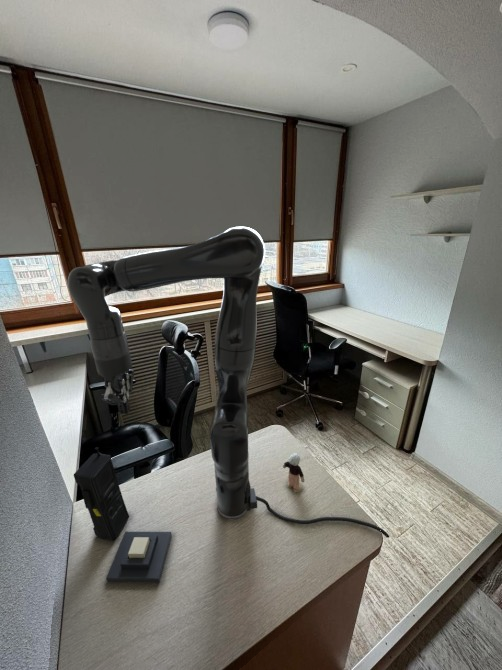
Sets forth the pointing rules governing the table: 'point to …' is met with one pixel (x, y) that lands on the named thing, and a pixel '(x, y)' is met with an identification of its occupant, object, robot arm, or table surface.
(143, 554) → the key
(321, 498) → the table surface
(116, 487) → the portable radio
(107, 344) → the robot arm
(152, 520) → the table surface
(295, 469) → the grandmother figurine
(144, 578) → the push button
